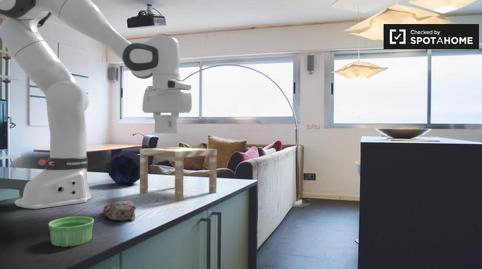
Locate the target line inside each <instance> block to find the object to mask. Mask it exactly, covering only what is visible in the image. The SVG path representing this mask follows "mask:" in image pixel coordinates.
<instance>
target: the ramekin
mask: <svg viewBox="0 0 482 269" xmlns="http://www.w3.org/2000/svg"><path fill="white" fill-rule="evenodd" d="M94 222H95V220H94V218H93V217H90V216H80V215H79V216H66V217H62V218H57V219H53V220H51V221H49V223H48V228H49V235H50V237H49V238H50V243H51V245H53V246H54V247H59V246H61V247H62V248H63V247H65V248H66V247H68V246H70V247H75V246H81V245H83V244H86V243H87V244H88V243H89V242H90V241H91V239H92V236H93V228H94V226H93V225H94ZM61 247H60V248H61Z"/></svg>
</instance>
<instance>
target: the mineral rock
mask: <svg viewBox="0 0 482 269" xmlns="http://www.w3.org/2000/svg"><path fill="white" fill-rule="evenodd" d="M136 209H137V207H136V206H135V205H134V203H133V201H131V199H127V200H120V201H111V202H109V203H107V204H106V205H105V206H104V207H103V209H102V213H103V215H104V217H105V218H108V219H109V220H112V221H121V222H123V221H128V220H131V221H132V222H134V221H135V220H136V213H135V211H136Z"/></svg>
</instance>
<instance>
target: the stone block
mask: <svg viewBox="0 0 482 269" xmlns="http://www.w3.org/2000/svg"><path fill="white" fill-rule="evenodd" d="M171 119H172V116H171V114H161V115H155V119H154V134H177V133H178V132H177V131H178V130H177V128H178V122H177V121H178V120H177V121H176V127H169V121H171Z"/></svg>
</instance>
